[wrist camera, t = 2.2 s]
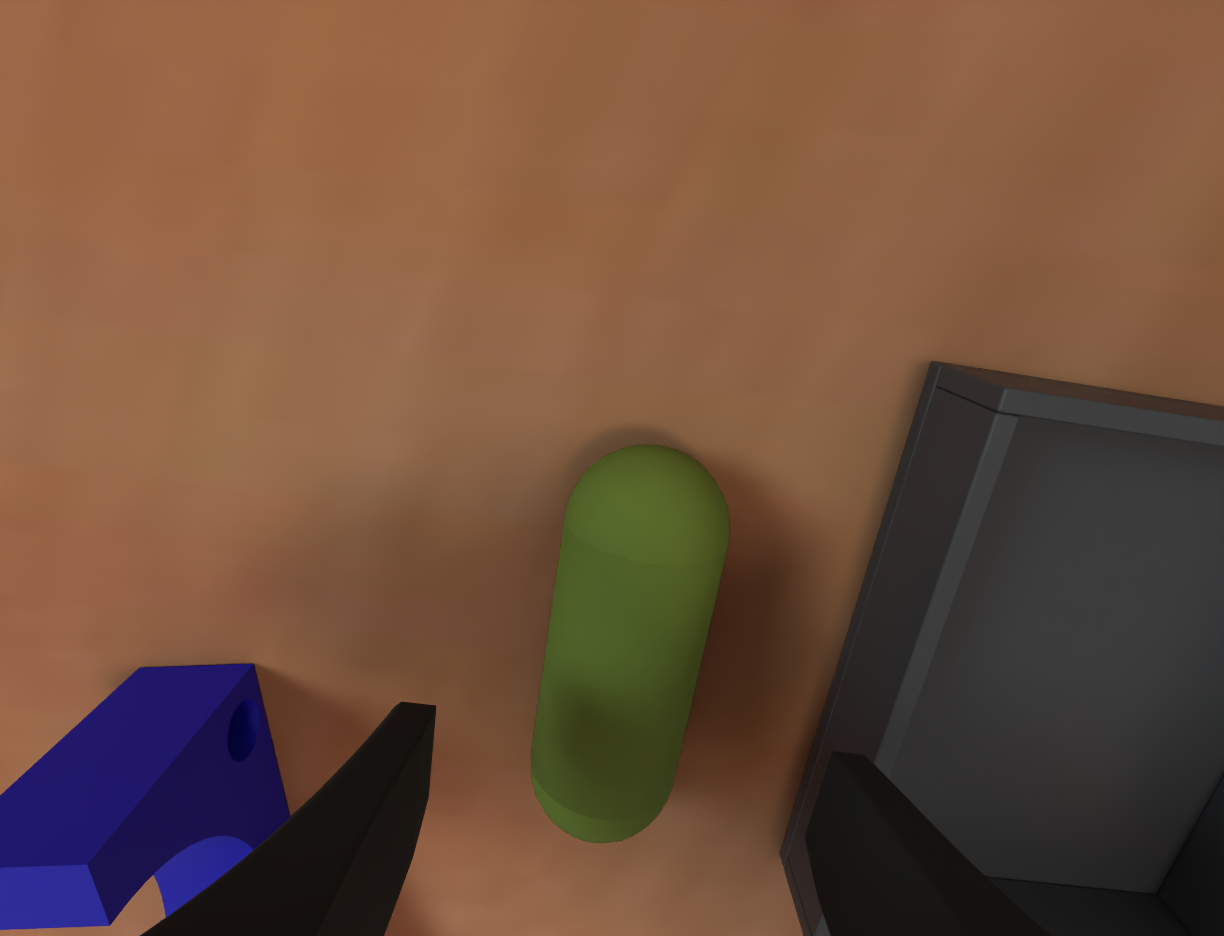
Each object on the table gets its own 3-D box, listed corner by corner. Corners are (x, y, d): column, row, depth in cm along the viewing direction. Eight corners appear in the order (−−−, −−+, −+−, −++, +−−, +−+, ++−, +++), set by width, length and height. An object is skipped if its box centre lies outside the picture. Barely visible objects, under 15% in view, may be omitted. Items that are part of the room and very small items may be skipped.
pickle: (655, 771, 19) (668, 887, 16) (529, 757, 19) (513, 872, 15) (729, 437, 16) (764, 490, 12) (579, 415, 16) (572, 463, 12)
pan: (1151, 892, 21) (1239, 995, 18) (778, 853, 20) (808, 954, 17) (1405, 435, 16) (1578, 477, 13) (930, 360, 15) (1005, 387, 12)
